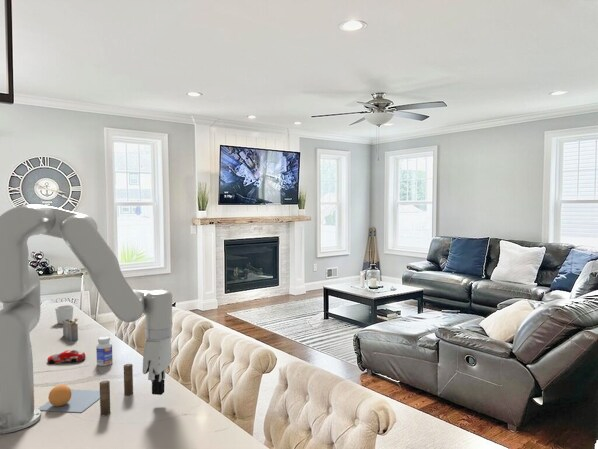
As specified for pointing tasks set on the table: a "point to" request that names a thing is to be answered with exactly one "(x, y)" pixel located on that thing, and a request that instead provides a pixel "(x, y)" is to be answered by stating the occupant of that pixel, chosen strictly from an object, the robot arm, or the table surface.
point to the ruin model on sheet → (70, 329)
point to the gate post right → (128, 379)
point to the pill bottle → (104, 351)
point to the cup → (64, 313)
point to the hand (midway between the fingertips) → (158, 393)
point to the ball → (60, 395)
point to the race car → (67, 357)
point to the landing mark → (75, 402)
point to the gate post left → (104, 398)
